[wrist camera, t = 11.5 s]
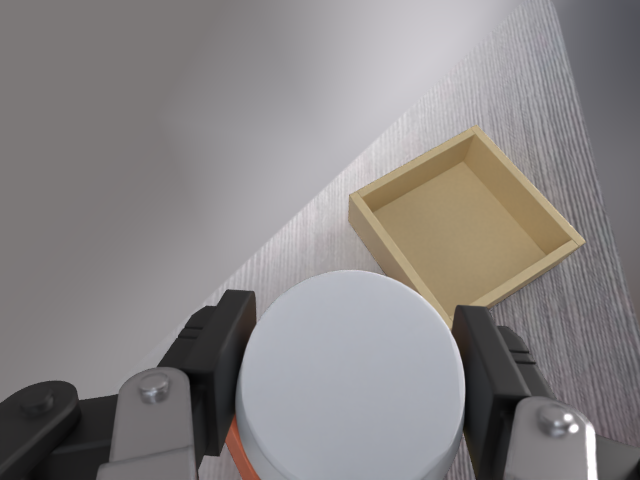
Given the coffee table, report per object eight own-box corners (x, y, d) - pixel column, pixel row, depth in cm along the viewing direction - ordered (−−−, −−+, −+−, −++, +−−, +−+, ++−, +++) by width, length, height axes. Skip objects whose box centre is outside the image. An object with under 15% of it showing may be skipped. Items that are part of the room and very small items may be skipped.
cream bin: (434, 344, 35) (447, 331, 30) (348, 220, 39) (348, 195, 35) (558, 264, 37) (586, 241, 33) (462, 155, 41) (476, 124, 37)
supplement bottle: (436, 368, 17) (539, 289, 8) (394, 522, 15) (470, 634, 6) (305, 319, 18) (271, 202, 9) (249, 458, 16) (140, 478, 7)
